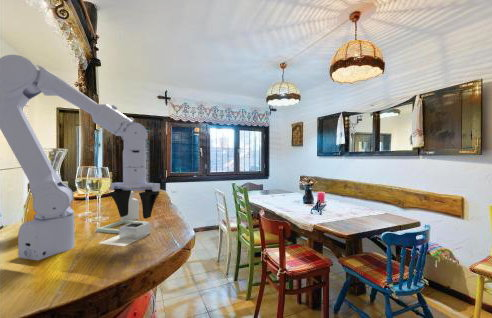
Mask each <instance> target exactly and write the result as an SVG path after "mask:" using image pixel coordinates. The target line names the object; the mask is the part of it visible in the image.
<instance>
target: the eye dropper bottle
mask: <svg viewBox="0 0 492 318" xmlns="http://www.w3.org/2000/svg"><path fill="white" fill-rule="evenodd" d="M134 192H135V191H134V190H131V194H130V197H129V205H128V215H127V216H124V217H120V221H121V220H132V221H138V220H139V219H140V203H139V202H140V200H139V199H138V198H135V197H134Z"/></svg>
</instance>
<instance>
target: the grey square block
mask: <svg viewBox="0 0 492 318" xmlns="http://www.w3.org/2000/svg"><path fill="white" fill-rule="evenodd" d="M145 222H146V221H145ZM145 222H132V223H140V225H139V226H138V227H131V223H129V224H124V225H123V224H122V225H121V226H119V227H118V228H119V234H118V235H119V238H122V239H131V240H137V239H139V240H141V239H143V238H145V237H147V236H148V235H150V234H151V222H149V223H145ZM146 235H147V236H146ZM144 236H145V237H144ZM142 237H143V238H142ZM140 238H141V239H140ZM137 241H138V240H137Z"/></svg>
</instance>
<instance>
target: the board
mask: <svg viewBox="0 0 492 318" xmlns="http://www.w3.org/2000/svg"><path fill="white" fill-rule="evenodd" d="M147 236H148V235H146V236H144V237H142V238H140V239H137V240H131V239H122V238H119V234H117V235H115V236H112V237H109V238H108V239H105V240H102V241H100V242H98V244H99V245H108V246H109V245H110V246H118V247H126V246H129V245H130V244H132V243H134V242H137V241H139V240H141V239H143V238H145V237H147Z"/></svg>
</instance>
